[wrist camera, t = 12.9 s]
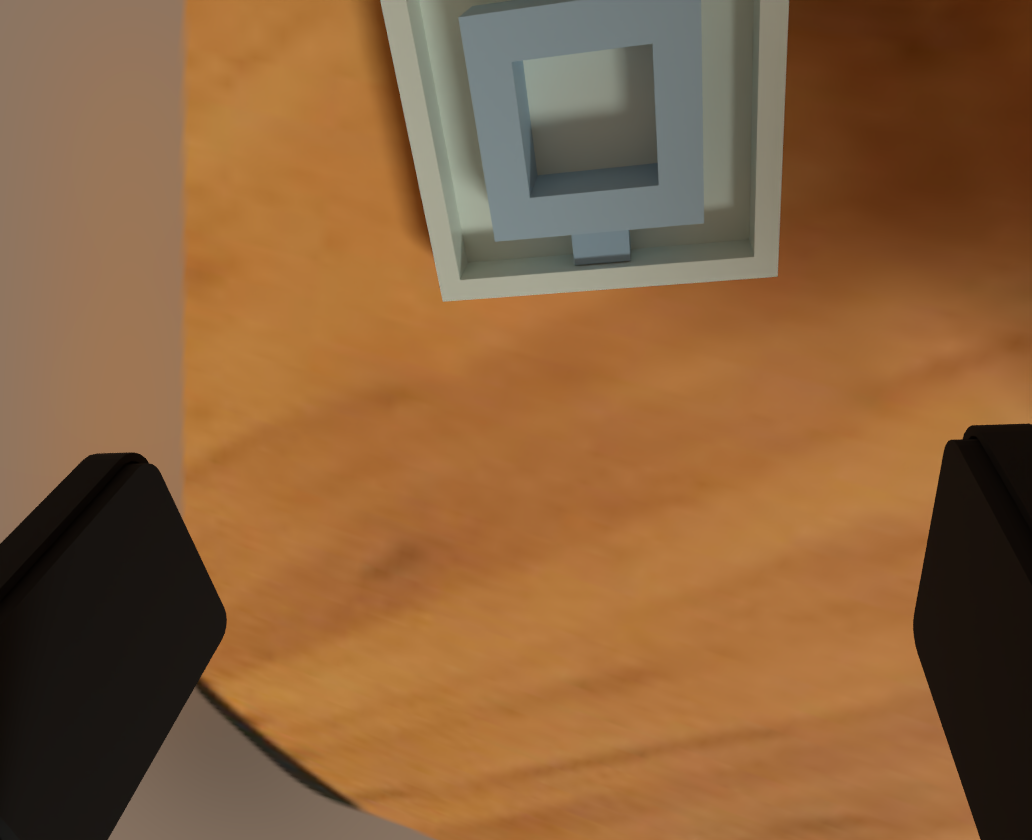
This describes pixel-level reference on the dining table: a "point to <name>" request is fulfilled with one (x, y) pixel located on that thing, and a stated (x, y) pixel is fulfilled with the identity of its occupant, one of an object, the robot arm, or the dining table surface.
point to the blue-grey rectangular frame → (600, 192)
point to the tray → (598, 150)
